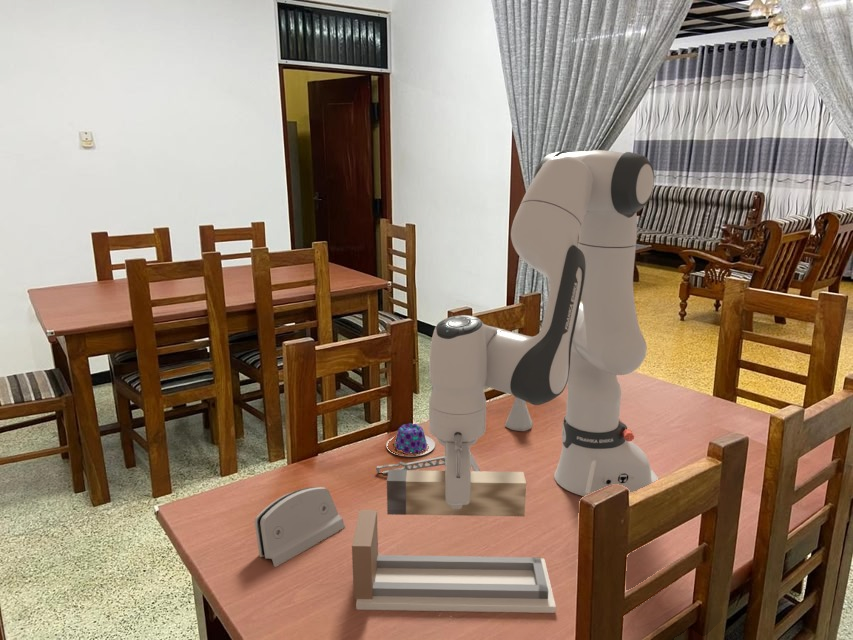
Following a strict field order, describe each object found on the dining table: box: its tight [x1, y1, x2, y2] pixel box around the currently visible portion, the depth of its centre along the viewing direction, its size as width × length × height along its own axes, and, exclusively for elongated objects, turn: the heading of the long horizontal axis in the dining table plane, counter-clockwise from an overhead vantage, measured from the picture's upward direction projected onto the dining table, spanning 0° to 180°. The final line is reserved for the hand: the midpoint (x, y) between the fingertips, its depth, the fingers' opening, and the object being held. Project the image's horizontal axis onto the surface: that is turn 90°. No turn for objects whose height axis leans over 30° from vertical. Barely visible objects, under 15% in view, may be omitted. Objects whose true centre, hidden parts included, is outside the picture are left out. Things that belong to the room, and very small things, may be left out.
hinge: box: [254, 486, 346, 568], centre depth 120 cm, size 17×5×10 cm, turn 137°
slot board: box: [351, 509, 557, 614], centre depth 106 cm, size 32×12×11 cm, turn 89°
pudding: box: [385, 423, 436, 458], centre depth 155 cm, size 12×12×5 cm
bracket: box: [375, 453, 481, 475], centre depth 141 cm, size 3×21×10 cm, turn 79°
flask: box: [504, 396, 533, 432], centre depth 166 cm, size 7×7×10 cm
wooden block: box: [386, 468, 527, 517], centre depth 103 cm, size 22×4×6 cm, turn 89°
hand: (456, 497), depth 103 cm, fingers closed on wooden block, 3 cm apart
